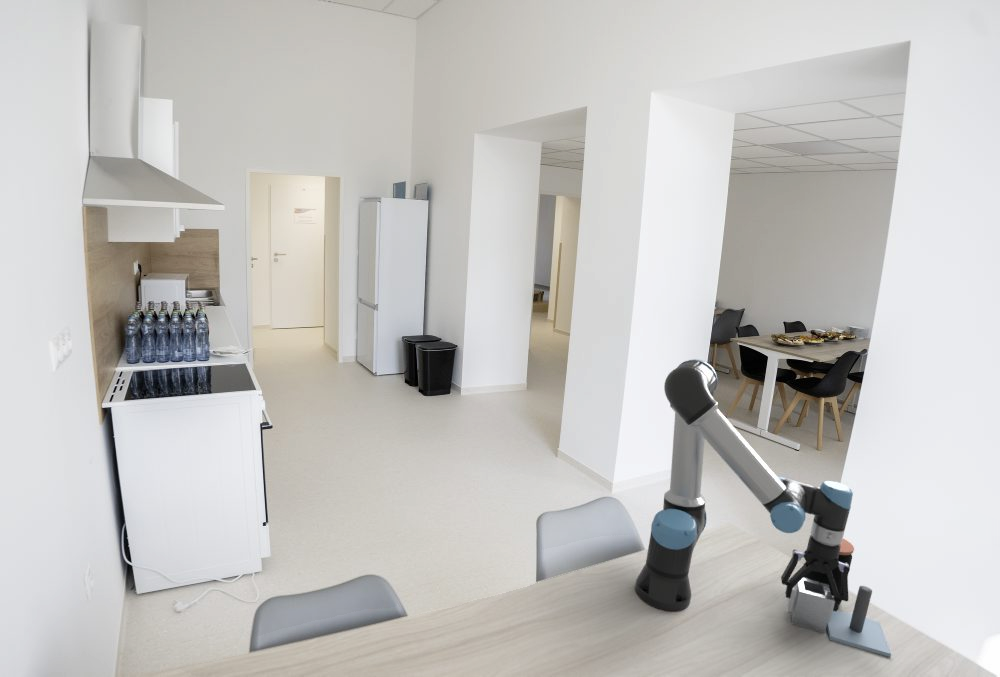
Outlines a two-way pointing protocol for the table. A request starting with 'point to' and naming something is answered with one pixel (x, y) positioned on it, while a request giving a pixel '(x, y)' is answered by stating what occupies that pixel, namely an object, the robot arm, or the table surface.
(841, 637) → the blue base with peg
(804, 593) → the square metal tube
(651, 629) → the table surface
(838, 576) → the coffee jar
